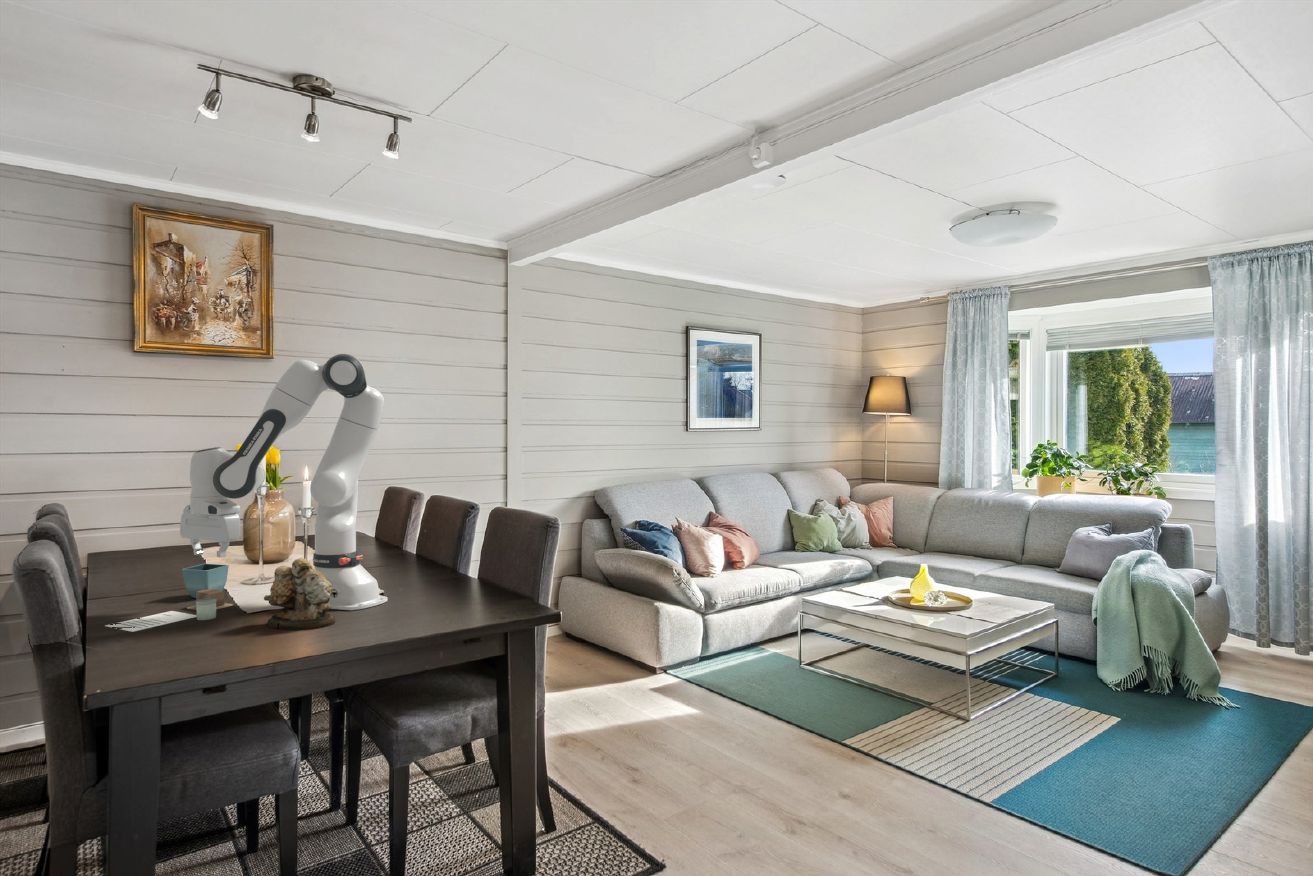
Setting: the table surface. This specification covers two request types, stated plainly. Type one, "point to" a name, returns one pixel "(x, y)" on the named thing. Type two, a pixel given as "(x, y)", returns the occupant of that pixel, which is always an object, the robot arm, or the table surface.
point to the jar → (206, 609)
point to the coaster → (216, 607)
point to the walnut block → (211, 596)
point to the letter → (153, 620)
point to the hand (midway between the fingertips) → (209, 556)
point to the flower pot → (205, 577)
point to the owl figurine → (300, 597)
